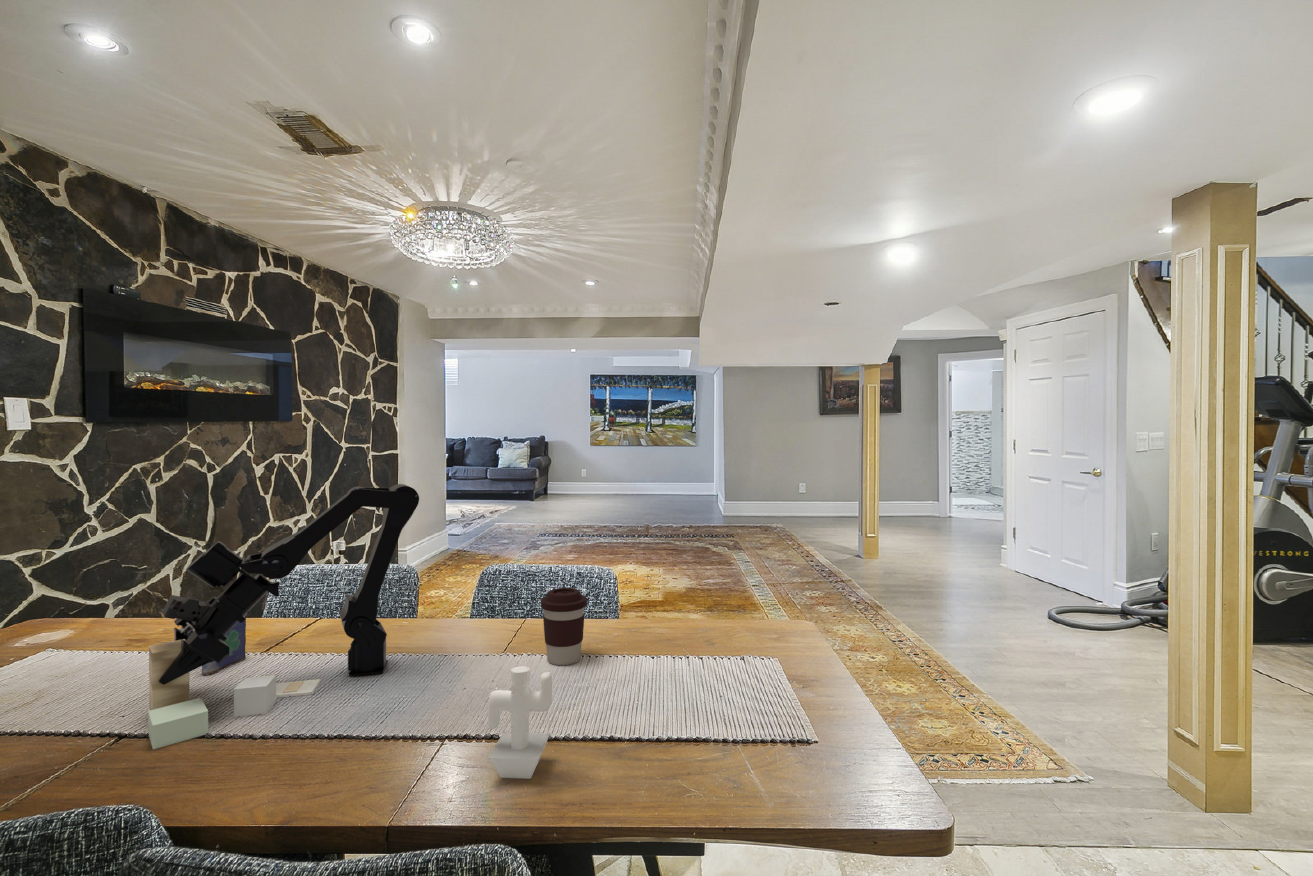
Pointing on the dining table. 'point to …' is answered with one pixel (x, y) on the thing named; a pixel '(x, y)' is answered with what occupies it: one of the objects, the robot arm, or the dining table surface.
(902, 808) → the dining table surface
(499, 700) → the figurine
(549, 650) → the coffee cup
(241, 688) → the grey cube
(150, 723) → the sage base block
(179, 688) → the maple pillar
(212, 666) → the flask
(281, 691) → the card
